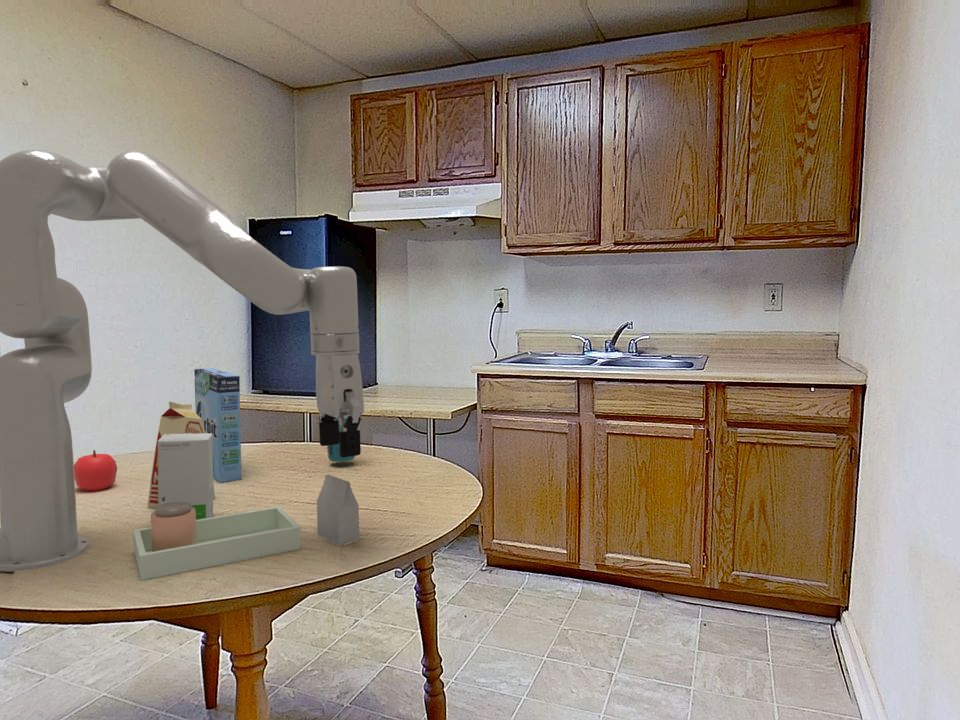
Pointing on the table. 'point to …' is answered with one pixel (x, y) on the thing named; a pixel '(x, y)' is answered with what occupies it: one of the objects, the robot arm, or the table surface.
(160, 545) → the jar
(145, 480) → the table surface
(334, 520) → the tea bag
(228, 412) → the gum box
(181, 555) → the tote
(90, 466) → the apple
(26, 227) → the robot arm
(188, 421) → the milk carton
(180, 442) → the skincare box
